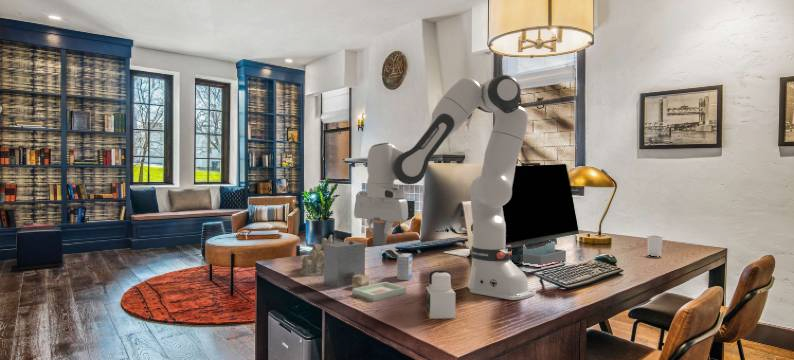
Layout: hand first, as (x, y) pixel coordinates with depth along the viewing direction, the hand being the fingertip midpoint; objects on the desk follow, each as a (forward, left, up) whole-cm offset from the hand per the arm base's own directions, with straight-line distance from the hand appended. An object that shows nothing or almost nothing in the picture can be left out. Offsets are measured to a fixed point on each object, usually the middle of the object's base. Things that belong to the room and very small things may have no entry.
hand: (379, 233), depth 148 cm
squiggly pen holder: (-7, -86, -20) cm, 89 cm away
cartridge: (0, 0, -4) cm, 4 cm away
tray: (-3, +3, -19) cm, 20 cm away
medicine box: (+8, -19, -19) cm, 29 cm away
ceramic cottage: (+39, -1, -20) cm, 44 cm away
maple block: (+8, +2, -19) cm, 21 cm away
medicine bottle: (-30, +4, -19) cm, 36 cm away
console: (+16, +3, -19) cm, 25 cm away
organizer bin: (-10, -85, -19) cm, 88 cm away
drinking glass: (-39, -143, -19) cm, 150 cm away
